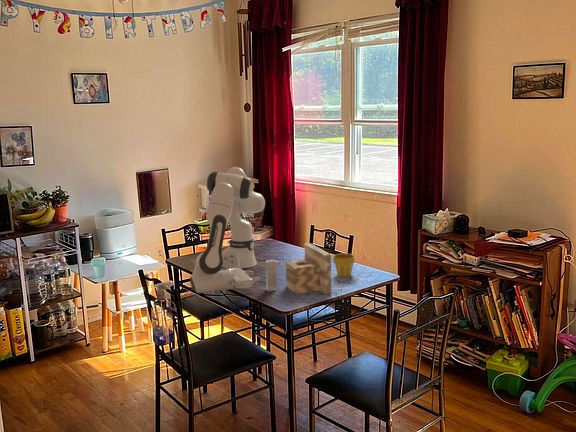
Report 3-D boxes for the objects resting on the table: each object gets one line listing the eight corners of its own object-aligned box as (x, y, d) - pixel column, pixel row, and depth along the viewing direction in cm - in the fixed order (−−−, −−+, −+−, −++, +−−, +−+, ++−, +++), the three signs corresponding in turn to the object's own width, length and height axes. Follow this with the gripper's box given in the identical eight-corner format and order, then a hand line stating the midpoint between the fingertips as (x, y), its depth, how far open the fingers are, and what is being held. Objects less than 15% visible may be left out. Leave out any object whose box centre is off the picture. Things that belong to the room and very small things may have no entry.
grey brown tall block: (268, 291, 264) (267, 262, 261) (266, 289, 267) (265, 260, 264) (280, 289, 266) (279, 260, 263) (278, 288, 269) (277, 259, 266)
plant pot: (336, 278, 280) (336, 259, 278) (331, 272, 290) (331, 254, 288) (357, 277, 281) (356, 257, 279) (351, 271, 291) (351, 252, 289)
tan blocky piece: (300, 298, 254) (299, 258, 250) (282, 283, 276) (280, 246, 273) (331, 293, 259) (330, 254, 256) (311, 278, 281) (310, 243, 278)
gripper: (232, 279, 248) (263, 275, 252) (221, 267, 267) (249, 263, 271) (233, 293, 249) (263, 288, 254) (222, 280, 268) (250, 276, 272)
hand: (256, 275), depth 263 cm, fingers open, 8 cm apart
